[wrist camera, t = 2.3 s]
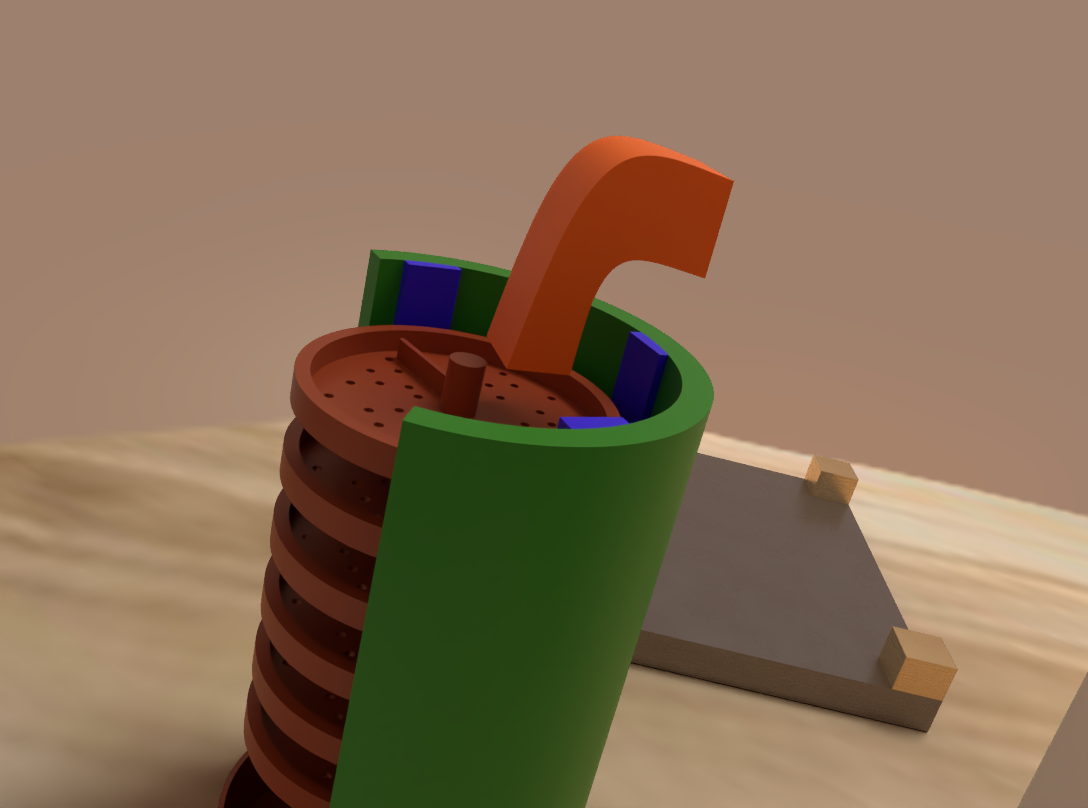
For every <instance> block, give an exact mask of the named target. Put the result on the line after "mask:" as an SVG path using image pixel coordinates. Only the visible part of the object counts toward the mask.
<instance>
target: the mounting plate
mask: <svg viewBox="0 0 1088 808" xmlns="http://www.w3.org/2000/svg"><path fill="white" fill-rule="evenodd" d="M857 482H858V478H857V476H856V474H855V472H854V470H853V469H852V467H851V465H850V463H846V462H842V461H838V460H834V459H830V458H826V457H822V456H818V455H813V458H812V461H811V463H810V466H809V468H808V471H807V474H806V476H805V479H803V478H798V477H794V476H790V475H786V474H782V473H778V472H774V471H770V470H766V469H762V468H757V467H753V466H749V465H745V464H741V463H737V462H733V461H729V460H725V459H721V458H717V457H712V456H708V455H704V454H700V453H697V454H696V457H695V460H694V464H693V467H692V470H691V473H690V476H689V479H688V483H687V486H686V489H685V492H684V495H683V498H682V502H681V505H680V508H679V511H678V514H677V517H676V521H675V524H674V527H673V530H672V533H671V536H670V540H669V543H668V546H667V549H666V552H665V555H664V559H663V562H662V565H661V568H660V571H659V574H658V578H657V581H656V584H655V587H654V590H653V593H652V597H651V600H650V603H649V606H648V609H647V612H646V616H645V619H644V622H643V625H642V628H641V631H640V635H639V638H638V641H637V644H636V647H635V650H634V654H633V657H632V660H631V662H632V663H636V664H640V665H645V666H649V667H653V668H658V669H662V670H666V671H670V672H675V673H679V674H683V675H687V676H692V677H696V678H700V679H704V680H709V681H713V682H717V683H721V684H726V685H730V686H734V687H739V688H743V689H747V690H751V691H756V692H760V693H764V694H768V695H773V696H777V697H781V698H785V699H790V700H794V701H798V702H802V703H807V704H811V705H815V706H819V707H824V708H828V709H832V710H837V711H841V712H845V713H849V714H854V715H858V716H862V717H866V718H871V719H875V720H879V721H883V722H888V723H892V724H896V725H900V726H905V727H909V728H913V729H918V730H922V731H926V732H928V730H929V728H930V726H931V724H932V722H933V720H934V718H935V716H936V714H937V711H938V709H939V707H940V705H941V703H942V701H943V699H944V697H945V695H946V693H947V691H948V689H949V686H950V684H951V682H952V680H953V678H954V676H955V674H956V672H957V670H958V668H957V667H956V665H955V663H954V661H953V659H952V657H951V655H950V653H949V651H948V649H947V648H946V646H945V644H944V642H943V640H942V638H940V637H936V636H932V635H927V634H923V633H919V632H915V631H911V630H908V628H907V626H906V624H905V622H904V620H903V618H902V615H901V613H900V611H899V609H898V607H897V605H896V603H895V601H894V599H893V597H892V595H891V593H890V591H889V588H888V586H887V584H886V582H885V580H884V578H883V576H882V574H881V572H880V570H879V568H878V566H877V563H876V561H875V559H874V557H873V555H872V553H871V551H870V549H869V547H868V545H867V543H866V541H865V538H864V536H863V534H862V532H861V530H860V528H859V526H858V524H857V522H856V520H855V518H854V516H853V513H852V511H851V509H850V507H849V505H848V504H849V502H850V500H851V497H852V495H853V492H854V490H855V487H856V485H857Z"/></svg>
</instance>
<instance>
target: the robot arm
mask: <svg viewBox="0 0 1088 808" xmlns="http://www.w3.org/2000/svg"><path fill="white" fill-rule="evenodd" d="M1017 808H1088V672H1087V674H1086V676H1085V678H1084V680H1083V682H1082V684H1081V686H1080V688H1079V690H1078V692H1077V694H1076V695H1075V697H1074V699H1073V701H1072V703H1071V705H1070V707H1069V709H1068V711H1067V713H1066V715H1065V717H1064V719H1063V721H1062V722H1061V724H1060V726H1059V728H1058V730H1057V732H1056V734H1055V736H1054V738H1053V740H1052V742H1051V744H1050V746H1049V748H1048V750H1047V751H1046V753H1045V755H1044V757H1043V759H1042V761H1041V763H1040V765H1039V767H1038V769H1037V771H1036V773H1035V775H1034V777H1033V778H1032V780H1031V782H1030V784H1029V786H1028V788H1027V790H1026V792H1025V794H1024V796H1023V798H1022V800H1021V802H1020V804H1019V806H1018V807H1017Z"/></svg>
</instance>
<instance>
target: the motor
mask: <svg viewBox="0 0 1088 808" xmlns="http://www.w3.org/2000/svg"><path fill="white" fill-rule="evenodd" d="M733 182H734V181H733V180H731V179H729V178H727V177H725V176H724V175H722V174H720V173H719V172H717V171H715V170H713V169H712V168H710V167H708V166H706V165H705V164H703V163H701V162H699V161H698V160H695V159H693V158H690V157H688V156H685V155H682V154H680V153H677V152H675V151H672V150H670V149H667V148H665V147H662V146H659V145H656V144H654V143H650V142H648V141H645V140H641V139H637V138H632V137H625V136H610V137H605V138H601V139H598V140H596V141H594V142H592V143H590V144H588V145H587V146H585V147H584V148H583V149H581V150H580V151H579V152H578V153H577V154H576V155H575V156H574V157H573V158H572V159H571V160H570V161H569V162H568V164H567V165H566V166H565V167H564V168H563V170H562V171H561V173H560V174H559V175H558V177H557V178H556V180H555V181H554V183H553V184H552V186H551V188H550V189H549V191H548V193H547V195H546V196H545V198H544V200H543V202H542V204H541V206H540V208H539V210H538V212H537V214H536V216H535V218H534V220H533V222H532V224H531V226H530V229H529V231H528V233H527V236H526V238H525V240H524V242H523V245H522V247H521V249H520V252H519V254H518V256H517V259H516V262H515V264H514V266H513V269H512V271H510V270H506V269H501V268H498V267H493V266H488V265H484V264H480V263H474V262H469V261H464V260H459V259H453V258H447V257H441V256H434V255H426V254H418V253H410V252H400V251H387V250H371V252H370V258H369V265H368V270H367V276H366V283H365V288H364V294H363V300H362V306H361V312H360V319H359V325H358V327H356V328H350V329H344V330H340V331H336V332H333V333H330V334H327V335H324V336H322V337H319V338H317V339H315V340H313V341H312V342H310V343H309V344H308V345H306V346H305V347H304V348H303V349H302V350H301V351H300V353H299V354H298V356H297V358H296V361H295V365H294V372H293V379H292V386H291V393H290V402H291V407H292V410H293V412H294V414H295V416H296V418H294V420H293V421H292V422H291V423H290V425H289V426H288V428H287V430H286V433H285V436H284V443H283V450H282V457H281V464H280V479H281V483H282V486H283V489H282V491H281V492H280V494H279V496H278V498H277V500H276V503H275V507H274V514H273V521H272V528H271V535H270V548H271V553H272V556H271V558H270V560H269V562H268V565H267V567H266V572H265V577H264V584H263V591H262V599H261V616H262V620H261V622H260V624H259V627H258V630H257V635H256V641H255V648H254V655H253V663H252V676H253V680H252V682H251V685H250V688H249V692H248V698H247V705H246V712H245V719H244V738H245V744H246V748H247V752H246V753H245V754H244V755H243V756H242V757H241V758H240V759H239V761H238V762H237V763H236V765H235V766H234V768H233V769H232V771H231V772H230V774H229V776H228V778H227V780H226V782H225V784H224V787H223V789H222V793H221V796H220V800H219V805H218V808H585V806H586V803H587V799H588V796H589V793H590V790H591V787H592V784H593V780H594V777H595V774H596V771H597V768H598V765H599V761H600V758H601V755H602V752H603V749H604V746H605V742H606V739H607V736H608V733H609V730H610V727H611V723H612V720H613V717H614V714H615V711H616V708H617V704H618V701H619V698H620V695H621V692H622V689H623V685H624V682H625V679H626V676H627V673H628V670H629V666H630V663H631V660H632V657H633V654H634V650H635V647H636V644H637V641H638V638H639V635H640V631H641V628H642V625H643V622H644V619H645V616H646V612H647V609H648V606H649V603H650V600H651V597H652V593H653V590H654V587H655V584H656V581H657V578H658V574H659V571H660V568H661V565H662V562H663V559H664V555H665V552H666V549H667V546H668V543H669V540H670V536H671V533H672V530H673V527H674V524H675V521H676V517H677V514H678V511H679V508H680V505H681V502H682V498H683V495H684V492H685V489H686V486H687V483H688V479H689V476H690V473H691V470H692V467H693V464H694V460H695V457H696V454H697V451H698V448H699V445H700V441H701V438H702V435H703V432H704V429H705V426H706V422H707V419H708V416H709V413H710V410H711V407H712V403H713V397H714V392H713V386H712V383H711V381H710V378H709V376H708V374H707V373H706V371H705V370H704V368H703V367H702V366H701V364H700V363H699V362H698V361H697V360H696V359H695V358H694V357H693V356H692V355H691V354H690V353H689V352H688V351H687V350H686V349H685V348H683V347H682V346H681V345H680V344H679V343H677V342H676V341H674V340H673V339H672V338H671V337H669V336H668V335H666V334H665V333H663V332H662V331H660V330H658V329H657V328H655V327H654V326H652V325H650V324H648V323H647V322H645V321H643V320H641V319H639V318H637V317H635V316H633V315H632V314H630V313H628V312H626V311H623V310H621V309H619V308H617V307H615V306H613V305H610V304H608V303H606V302H603V301H601V300H599V299H596V298H594V297H595V295H596V293H597V291H598V289H599V287H600V285H601V284H602V282H603V280H604V279H605V278H606V276H607V275H608V274H609V273H610V272H611V271H612V270H613V269H614V268H615V267H616V266H618V265H620V264H622V263H624V262H627V261H631V260H643V261H650V262H654V263H659V264H662V265H665V266H669V267H672V268H675V269H678V270H681V271H684V272H687V273H690V274H693V275H696V276H699V277H702V278H705V277H706V273H707V270H708V266H709V263H710V260H711V256H712V253H713V249H714V246H715V243H716V240H717V236H718V233H719V229H720V226H721V222H722V219H723V216H724V212H725V209H726V206H727V202H728V199H729V195H730V192H731V189H732V186H733Z"/></svg>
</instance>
